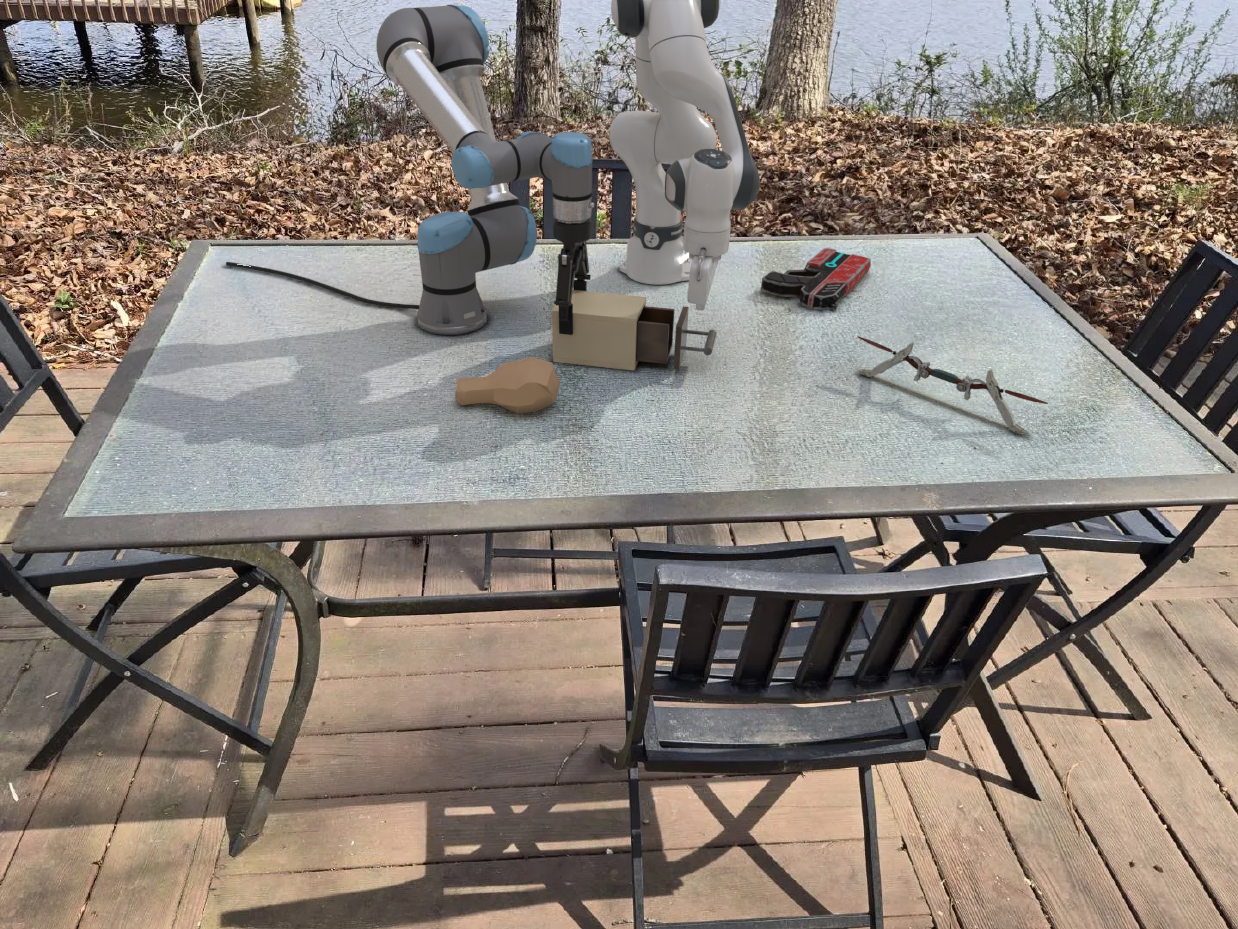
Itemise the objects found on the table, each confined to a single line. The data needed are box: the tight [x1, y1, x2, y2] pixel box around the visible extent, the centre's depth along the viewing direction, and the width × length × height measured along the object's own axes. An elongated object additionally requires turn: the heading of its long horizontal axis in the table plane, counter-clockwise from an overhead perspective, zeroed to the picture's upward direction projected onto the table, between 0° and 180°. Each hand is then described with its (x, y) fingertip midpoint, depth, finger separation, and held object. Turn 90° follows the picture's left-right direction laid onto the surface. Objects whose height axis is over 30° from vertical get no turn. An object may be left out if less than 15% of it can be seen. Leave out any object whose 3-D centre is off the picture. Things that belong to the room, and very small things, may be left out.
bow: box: [856, 335, 1049, 435], centre depth 169 cm, size 39×2×10 cm, turn 47°
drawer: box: [636, 305, 717, 370], centre depth 180 cm, size 22×10×9 cm, turn 79°
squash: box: [454, 356, 561, 414], centre depth 164 cm, size 11×20×9 cm, turn 90°
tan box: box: [551, 290, 647, 371], centre depth 182 cm, size 17×12×12 cm, turn 79°
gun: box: [760, 247, 872, 311], centre depth 219 cm, size 4×31×19 cm
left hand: (573, 321), depth 182 cm, fingers closed on tan box, 11 cm apart
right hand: (700, 307), depth 175 cm, fingers closed
